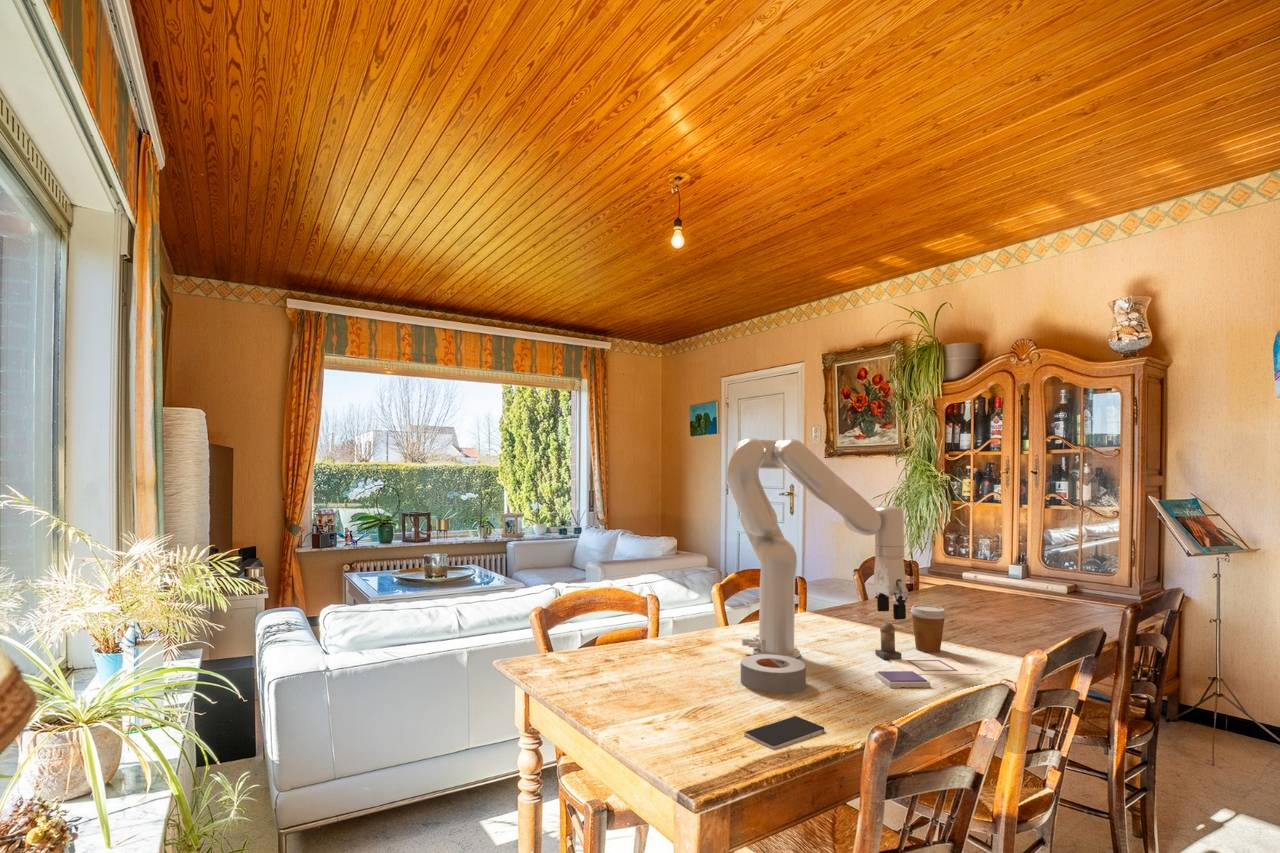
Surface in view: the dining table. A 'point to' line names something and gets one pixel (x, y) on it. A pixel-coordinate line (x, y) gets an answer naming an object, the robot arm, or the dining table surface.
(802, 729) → the smartphone
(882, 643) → the stamp
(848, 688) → the dining table surface
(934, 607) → the disposable coffee cup
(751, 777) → the dining table surface
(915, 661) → the sheet
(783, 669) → the tape roll
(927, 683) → the ink pad
